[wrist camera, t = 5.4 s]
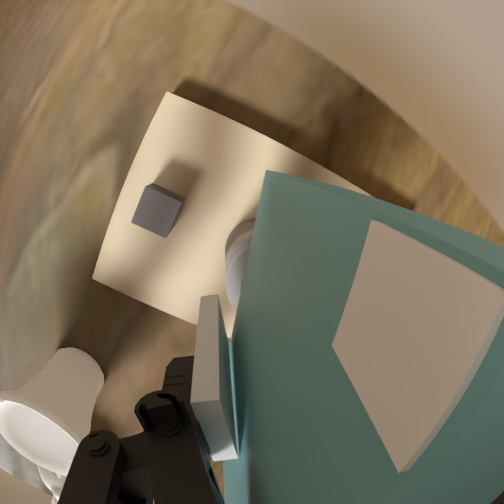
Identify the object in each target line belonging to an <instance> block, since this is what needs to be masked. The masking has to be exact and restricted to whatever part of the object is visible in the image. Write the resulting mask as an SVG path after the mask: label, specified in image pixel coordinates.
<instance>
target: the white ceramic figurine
mask: <svg viewBox="0 0 504 504" xmlns="http://www.w3.org/2000/svg"><path fill="white" fill-rule="evenodd" d="M37 466H38V470H39V473H40V476H41V478H42V480H43V482H44V484H45V485H46V486H47V487H48V488H49V489H50V490H51V491H52V493H53V497H52V504H57V503H58V500H59V497H60V494H61V491H62V489H63V486H64V483H65V480H66V477H67V476H64V475H61V474H58V473H55V472H52V471H49V470H47V469H45V468H43V467H41V466H39V465H37Z"/></svg>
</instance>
